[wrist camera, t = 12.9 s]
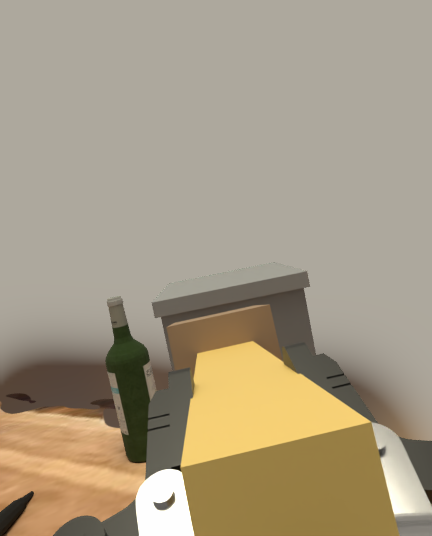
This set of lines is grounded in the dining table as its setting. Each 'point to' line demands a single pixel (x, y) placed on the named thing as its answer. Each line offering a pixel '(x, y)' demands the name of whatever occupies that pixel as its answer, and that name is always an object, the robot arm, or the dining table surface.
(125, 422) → the wine bottle
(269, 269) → the stand
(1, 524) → the microphone
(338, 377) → the robot arm
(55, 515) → the dining table surface
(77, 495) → the dining table surface
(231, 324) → the peg
